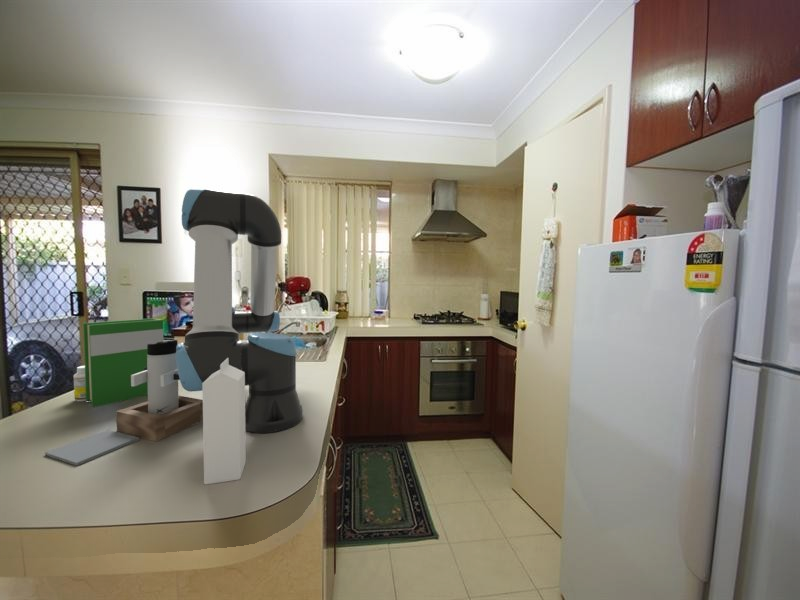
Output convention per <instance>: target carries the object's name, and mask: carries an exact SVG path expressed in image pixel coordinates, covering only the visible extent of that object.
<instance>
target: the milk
mask: <svg viewBox="0 0 800 600" xmlns="http://www.w3.org/2000/svg"><path fill="white" fill-rule="evenodd" d="M201 392H202V400H203V421H202V432H203V433H202V435H203V437H202V438H203V440H202V441H203V445H202V446H203V484H204V485H212V484H217V483H224V482H226V483H227V482H230V481H239V480H240V479H241V477H242V474H243V471H244V469H245V466H246V463H247V462H246V461H247V460H246V459H247V456H246V455H247V453H246V451H247V449H246V447H247V446H246V443H247V442H246V440H247V439H246V436H247V435H246V430H245V405H246V386H245V372H243V371H241V370H239V369H237V368H235V367H233V366H230V365H229V358H227V359H226V360H225V361H224V362H223V363H221V365H220V370H218V371H216V372H215V373H213V374H212V375H211V376H209V377H208V378H207V379H206V380H205V381H204V382H203V383H202V391H201Z"/></svg>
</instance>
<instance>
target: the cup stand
mask: <svg viewBox="0 0 800 600" xmlns="http://www.w3.org/2000/svg"><path fill="white" fill-rule="evenodd" d="M115 416H116V419H115V420H116V432H119V433H123V434H126V435H130V436H134V437H138V438H142V439H145V440H150V441H152V442H159V441H161V440H163V439H165V438H168V437H170V436H172V435H174V434H176V433H179V432H182V431H183V430H185V429H188V428H190V427H192V426H195V425H197V424H199V423H201V422H203V399H200V398H195V397H191V396H190V397H189V396H185V395H184V396H182V395H179V394H178V409H175V410H172V411H170V412H167V413H164V414H162V415H154V414H149V413H148V400H147V401H144V402H141V403H138V404H136V405H132V406H128V407H125V408H123V409H119V410H116V411H115Z"/></svg>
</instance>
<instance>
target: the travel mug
mask: <svg viewBox="0 0 800 600" xmlns="http://www.w3.org/2000/svg"><path fill="white" fill-rule="evenodd" d="M178 344H179V343H178V340H176V339H173V340H165V341H164V340H163V342H157V343H156V344H147V350H148V352H147V356H148V357H147V375H148V395H147V401H148V413H149V414H154V415H162V414H164V413H167V412H170V411H172V410H175V409H178V395H179V380H178V381H175V382H173V383H171V384H169V385H166V386H164V387H161V379H160V375H163V374H165V373H168V372H171V371H173V370H176V369H177V362H176V347H177V345H178Z"/></svg>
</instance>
